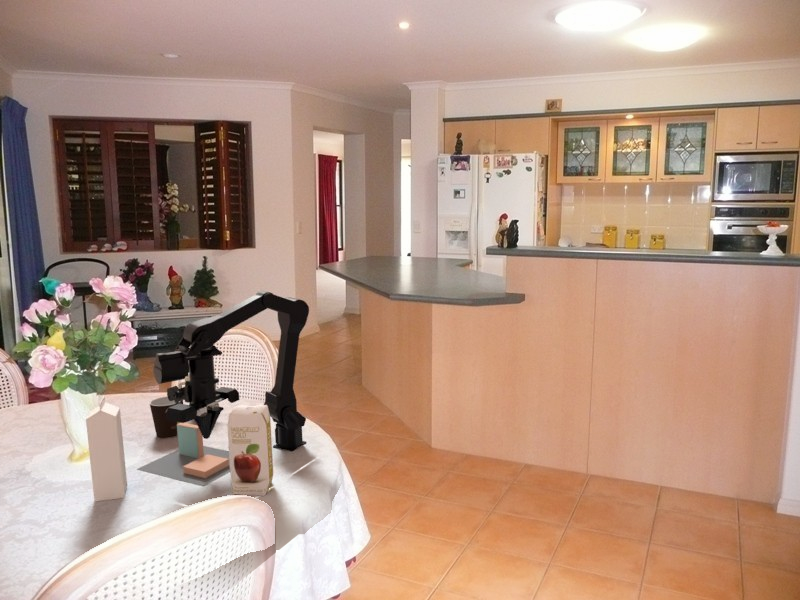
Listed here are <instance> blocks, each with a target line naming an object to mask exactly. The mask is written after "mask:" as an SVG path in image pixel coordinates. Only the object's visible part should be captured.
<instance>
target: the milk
mask: <svg viewBox="0 0 800 600" xmlns="http://www.w3.org/2000/svg"><path fill="white" fill-rule="evenodd" d="M121 416H122V415H121V408H120V407H118V406H117V405H114V404H111V403H108V402H106V398H105V396H103V397H102V399H101V400H100V402H99V405H98V406H96V407H95V408H93V409H92V410H90V412H89V413H88V415H87V417H86V418H85V423H86V424H85V425H86V434H87V442H88V443H87V444H88V452H89V462H90V472H91V481H92V492H93V501H94V503H96V502H103V501H110V500H116V499H117V500H119V499H123V498H125V494H126V491H127V487H128V480H127V471H126V470H127V469H126V461H125V459H126V458H125V448H124V439H123V427H122V418H121Z"/></svg>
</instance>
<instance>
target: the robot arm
mask: <svg viewBox="0 0 800 600" xmlns="http://www.w3.org/2000/svg"><path fill="white" fill-rule="evenodd" d="M267 309H268V310H271V311H274V312H276V313H277V322H278V325H279V328H280V339H279V346H278V347H279V348H278V355H277V361H276V363H277V364H276V372H275V379H274V385H273V388H272V389H271V391H268V390H266V391H265V394H264V396H265V397H264V398H265V400H264V403H263V405H267V406H268V410H269V414H270V418H271V419H272V421H273V423H275V429H274V435H275V436H274V437H275V438H274V439H275V440H274V441H275V444H274V445H272V449H273V448H274V449H277V450H283V451H288V452H294V451H295V450H297V449H299V448H301V447H303V446H304V445H306V444H307V441H305V440H304V439H303V427H304V426H305V425H306V424H305V423H306V421H307V419H306V417H305V416H304V415H302V413H300V412H299V411H298V410H297V409H298V408H297V407H298V406H297V403H298V402H297V401H298V400H297V397H296V394H295V391H294V390H295V389H294V383H295V382H294V381H295V375H296V367H297V359H298V352H299V351H298V350H299V342H300V336H301V335H300V334H301V332H302V331H303V329H304V327H305V326H306V324H307V322H308V317H309V314H310V307H309V305H308V303H307V302H306V301H304V300H302V299H299V298H294V297H289V296H288V297H287V296H286V297H282V296H279V295H276V294H274V293H272V292H269V291H266V290H260V291H257V292H256V294H254V295H252V296H250V297H248V298H247V299H245V300H243V301H241V302H239V303H237V304H236V305H233V306H232V307H229V308H228V309H226V310H224V311H223V312H221V313H219V314H217V315H213V316H210V317H206V318H205V317H204V318H200V319H198V320H195V321H192V322H190V323H188V324H187V325H185V326H184V329H183V332H182V333H183V334H182V335H183V336H182V337H181V339H180V341H179V342H178V343H177V346H176V347H175V349H174V351H172V352H171V351H169V352H158V353H156V354H155V359H154V363H153V368H152V370H153V375H154V379H155V381H156V383H157V384H159V385H160V384H167V383H170V382H175V381H181V380H185V377H186V376H188V374H189V378H190V380H187V381H186V382H185V381H184V382H185V385H184V386H182V388H179V386H178V385H174V386H171V387H168V388H166V390H167V391H166V395H167V396H168V399H169V401H173V400H174V401H175V403H178V402H179V401H182V400H183V401H184V403H183V404H180V403H179V404H177V405H174V406H171V407H169V408H168V409H167V410H166V420H170V421H175V422H180V423H188V422H191V421H193V420H194V422H195V423H196V424H195V425H198V427H199V430H200V432H201V434H202V436H203V439H205V440H209V438H210V437H211V435H212V432H213V430H214V427H215V425H216V422H217V421H218V419H219V416H220V415H221V412H223V411H224V407H223V406H220V403H219V402H222V401H226V400H228V402H229V403H231V404H234V403H236V402H238V401H240V392H239V391H238V390H237V388H232V387H225V386H221V387H219V388H217V387H216V388H215V384H216V385H217V384H218V383H219V382H220V379H219V378H217V377H215V361H214V358H215V356H222V354H223V352H222V351H221V350H220V349H218V347H216V345H215V344H217V342H218V341H220V340H221V339H222V338H223V336H224V335H225V334H226V333H227V332H228V331H229V330H231V329H233V328H235V327H237V326H239V325H241V324H242V323H244V322H246V321H247V320H249V319H251V318H253V317H254V316H256V315H258V314H260V313H262V312H264V311H266V310H267ZM189 402H192V404H191V405H189ZM185 403H187V404H185ZM199 405H200V406H199Z"/></svg>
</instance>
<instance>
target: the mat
mask: <svg viewBox="0 0 800 600" xmlns="http://www.w3.org/2000/svg"><path fill="white" fill-rule="evenodd" d="M203 450H204V456H205V455H207V454H208V455H213V456H217V457H222V458H226V459H229V466H227V467H225V468H223V469H222V470H220V471H218V472H216V473H214V474H213V475H211V476H209V477H207V478H202V477H197V476H193V475H189V474H185V473H183V466H185V465H187V464H189V463H191V462H193V461H195V460H197V459H199V458H194V457H190V456H185V455H181V454H179V448H178V449H177V450H174V451H173V452H170V453H168V454H166V455H164V456H162V457H159V458H157V459H155V460H153V461H151V462H149V463H146V464H144V465H142V466H140V467H138V468H136V471H142V472H144V473H149V474H153V475H157V476H161V477H165V478H168V479H172V480H176V481H177V480H178V481H181V482H184V483H188V484H192V485H197V486H201V487H206V486H207V485H210V484H211V483H213V482H214V481H216V480H218V479H220V478H222V477H223V476H225V475H227V474H229V473H230V458H229V450H226V449H225V450H224V449H221V448H215V447H211V446H206V445H203Z"/></svg>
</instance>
